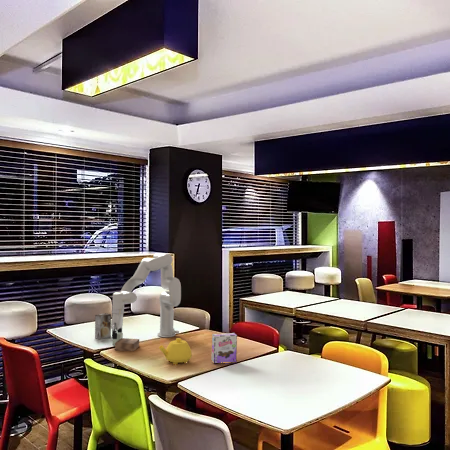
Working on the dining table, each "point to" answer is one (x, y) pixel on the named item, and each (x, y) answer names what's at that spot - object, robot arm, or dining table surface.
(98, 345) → the dining table surface
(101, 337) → the coffee box
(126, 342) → the block
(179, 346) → the teapot
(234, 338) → the candy box
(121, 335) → the sage block
